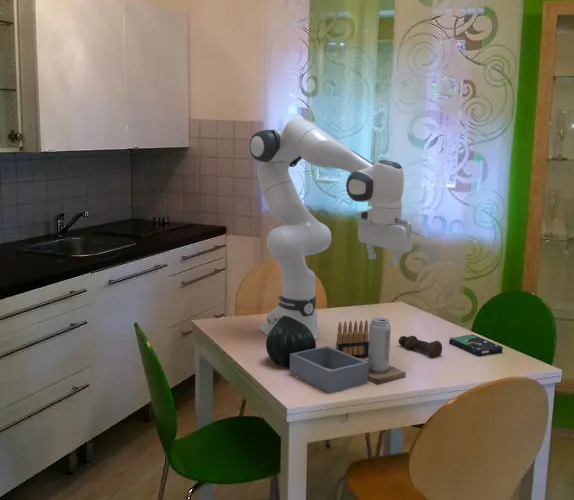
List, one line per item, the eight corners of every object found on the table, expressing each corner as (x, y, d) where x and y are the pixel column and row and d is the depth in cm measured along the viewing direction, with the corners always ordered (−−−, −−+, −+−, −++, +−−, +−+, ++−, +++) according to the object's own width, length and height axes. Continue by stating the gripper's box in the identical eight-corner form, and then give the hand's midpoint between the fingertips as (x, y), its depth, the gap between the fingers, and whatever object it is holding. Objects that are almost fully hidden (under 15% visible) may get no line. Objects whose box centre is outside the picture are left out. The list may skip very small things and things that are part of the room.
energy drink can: (370, 365, 200) (372, 316, 198) (390, 368, 198) (392, 318, 196) (365, 371, 195) (367, 321, 192) (386, 374, 193) (388, 323, 190)
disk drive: (502, 355, 220) (472, 341, 233) (503, 346, 219) (472, 333, 232) (477, 358, 215) (448, 344, 228) (478, 350, 215) (448, 336, 228)
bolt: (402, 350, 226) (438, 361, 214) (393, 345, 223) (429, 356, 211) (408, 334, 227) (444, 344, 216) (399, 329, 224) (436, 338, 212)
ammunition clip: (337, 360, 209) (338, 322, 207) (334, 358, 211) (336, 320, 209) (368, 357, 212) (370, 320, 210) (366, 355, 214) (368, 318, 212)
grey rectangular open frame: (289, 373, 196) (289, 353, 195) (326, 364, 205) (327, 345, 204) (329, 393, 182) (329, 371, 181) (367, 382, 190) (368, 362, 189)
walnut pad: (351, 373, 198) (351, 368, 198) (378, 366, 204) (379, 361, 204) (377, 384, 189) (377, 379, 189) (405, 377, 196) (405, 372, 195)
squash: (322, 354, 197) (313, 308, 205) (272, 358, 194) (264, 312, 202) (313, 372, 209) (305, 328, 217) (266, 377, 206) (259, 332, 214)
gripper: (419, 220, 194) (415, 268, 196) (371, 211, 210) (368, 254, 212) (403, 222, 190) (399, 270, 193) (355, 212, 206) (352, 256, 209)
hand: (382, 262), depth 203 cm, fingers open, 8 cm apart
